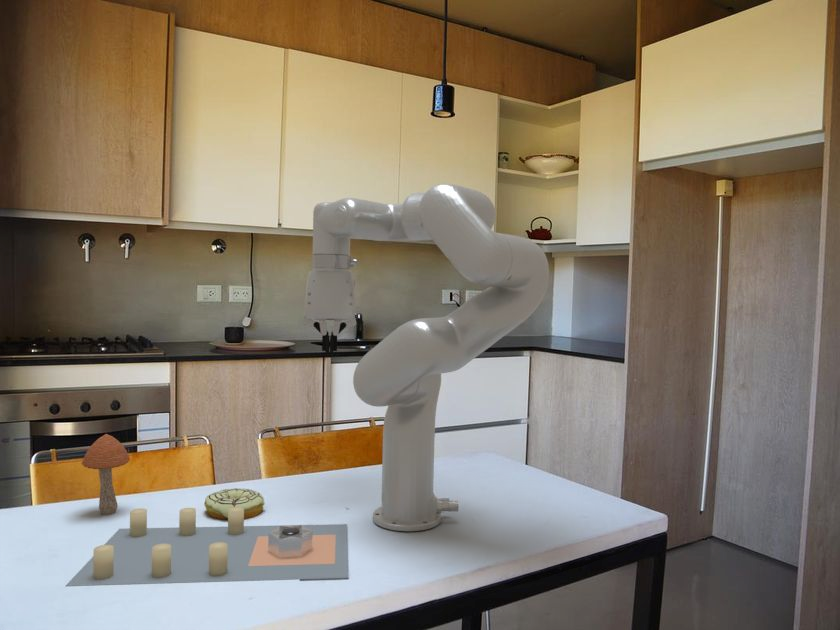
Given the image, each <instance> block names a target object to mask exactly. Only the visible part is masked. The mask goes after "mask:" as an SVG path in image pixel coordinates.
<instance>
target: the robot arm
mask: <svg viewBox="0 0 840 630" xmlns="http://www.w3.org/2000/svg"><path fill="white" fill-rule="evenodd" d="M312 213H313V215H312V216H313V217H312V220H313V221H312V222H313V223H312V270H309V271H308V274H307V279H306V284H305V295H304V297H305V298H304V317H303V318H304V319H303V322H302V323H303V325H305V326H307V327H312V328H315V329H316V330H317V331H318V332H319V333H320V335H321V338H322V339H321V345H322V346H321V351H322V352H325V353H324V355H325V356H329V355H330V356H334V352H338V335H339V334H340V333H341V332H342V331H343V330H345V329H346V328H351V327H355V326H357V319H356V284H355V282H356V281H355V275H354V272H353V271H350V268H353V267H357V266H358V264H357V263H358V260H357V259H354V258H352V257H351V239H362V240H372V241H378V242H407V241H408V242H409V241H410V242H411V241H413V242H415V241H416V242H418V241H433V242H434V243H435V245H436V246H437V247H438V248H439V249H440V250H441V252H442V253H443V254H444V256H445V257H446V258H447V259H448V260H449V262H450V264H452V265H453V266H454V268H455V269H456V270H457V271H458V272H459V274H460V275H462V276H463V278H465V279H466V280H467V281H468V282H470V283H472V284H475V285H477V286H481V287H487V288H486V289H484V290H482V291H479V293H477V294H474V295H473V296H471V297H470V298H468V299H467V300H466V301H465V302H464V303H463V304H462V305H461V306H459V307H458V308H457V309H454V311H452V312H451V313H449V314H446V315H445V316H440V317H424V318H421V317H420V318H416V319H412V320H408V321H406V322H405V323H403V324H401V325H400V326H398V327H396V329H394V330H393V331H391V333H389V335H387V336H386V337H384V339H382V340H381V341H379V342H378V344H376V345H375V346H374V347H372V348H371V349H370V350H369V351H367V352H366V354H364V355H363V356H362V357H361V359H359V362H358V363H357V365H356V367H355V370H354V372H353V379H352V384H353V389H354V392H355V394H356V396H357V397H358V399H360V400H361V401H362V402H363V403H365V404H366V405H369V406H371V407H379V408H380V407H387V409H386V411H385V415H384V420H383V428H382V429H383V430H382V459H381V460H382V462H381V463H382V465H381V468H382V471H381V473H382V474H381V506H379V507H378V508H376V509H375V510H374V511H373V513H372V521H373V522H374V523H375V525H377V526H379V527H381V528H384V529H387V530H391V531H398V532H419V531H420V532H421V531H427V530H429V529H432V528H435V527H436V526H439V524H440V523H441V521H442V512H448V513H449V512H459V500H450V498H449V497H442V498H438V497H437V496H436V495H435V493H434V475H435V474H434V472H435V468H434V467H435V466H434V465H435V464H434V463H435V439H436V434H435V433H436V416H437V415H436V414H437V405H438V400H439V395H440V390H441V387H442V386H441V385H442V374H447V373H453V372H456V371H459V370H460V369H462V368H463V367H465V366H466V365H467V364H469V363H470V362H472V361H473V360H474V359H476V357H478V356H479V355H480V354H482V353H484V352H486V350H488V349H489V348H490V347H492V346H493V345H495V343H497V342H498V341H500V340H501V339H502V338H503V337H505V336H506V335H508V334H509V333H510V332H512V331H514V329H516V328H517V327H519V326H520V325H521V324H522V323H523V322H525V321H526V320H527V319H528V318H529V317H530V316H531V315H532V314H533V313H534V312H535V310H537V308H538V307H539V306H540V304H541V302H542V301H543V299H544V297H545V295H546V293H547V289H548V285H549V280H550V279H549V277H550V267H549V262H548V258H547V256H546V253H545V252H544V250H543V249H542V247H540V246H539V245H538V244H537V243H536V242H534V241H532V240H531V239H528V238H526V237H524V236H523V237H522V236H519V235H514V234H508V233H501V232H495V231H494V230H492V228H493V227H494V224H495V221H496V217H497V216H496V215H497V214H496V209H495V206H494V203H493V202H492V200H491V198H489V196H487V194H485V193H483V192H481V191H479V190H476V189H472V188H468V187H465V186H460V185H457V184H452V183H441V184H437V185H434V186H432V187H430V188H429V189H428V190H427V191H426V192H415V193H411V194H410V195H408V196H407V197H406V198H405V200H404V201H403V203H382V202H376V201H371V200H367V199H366V200H365V199H360V198H355V197H345V198H341V199H339V200H336V201H332V202H331V201H329V202H328V201H327V202H326V201H325V202H319V203H317V204H316V205H315V206H314V208H313V211H312ZM326 321H334V322H333V328H332V331H331V332H330V333H331V334H330V333H329V331H328V328H327V322H326ZM342 321H343V322H342Z"/></svg>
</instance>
